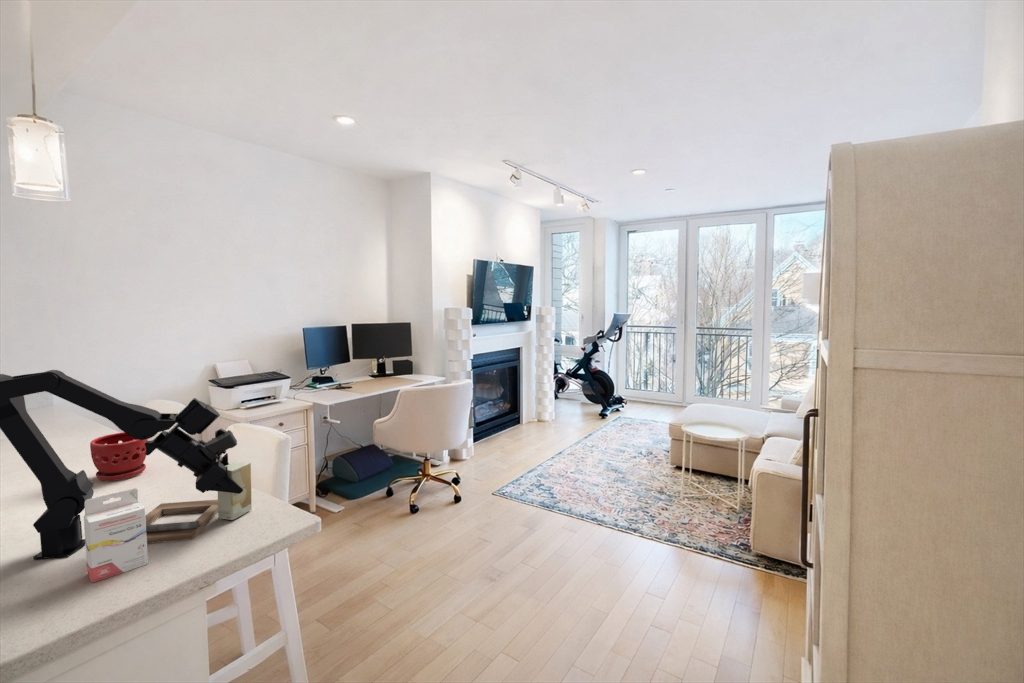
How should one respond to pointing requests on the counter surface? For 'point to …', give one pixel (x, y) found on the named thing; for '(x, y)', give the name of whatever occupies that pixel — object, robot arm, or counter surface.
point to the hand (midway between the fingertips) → (241, 486)
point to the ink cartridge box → (114, 535)
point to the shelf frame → (182, 528)
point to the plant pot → (118, 456)
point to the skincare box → (234, 502)
